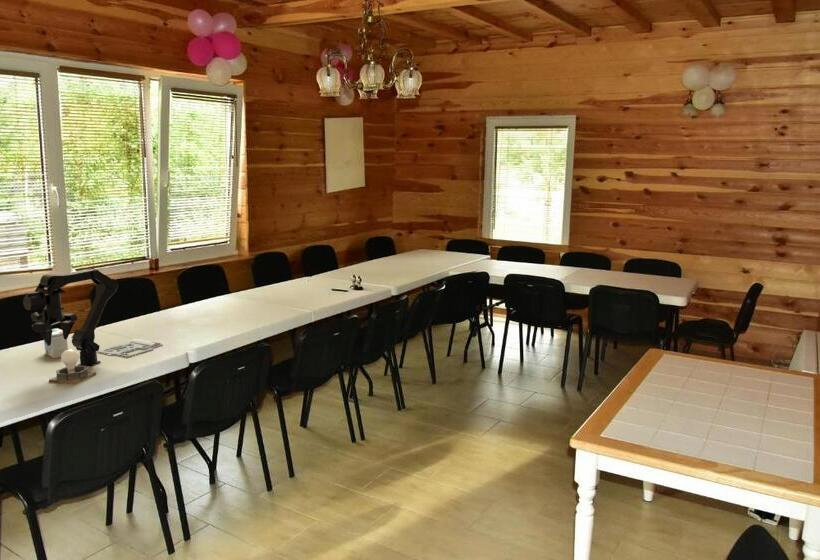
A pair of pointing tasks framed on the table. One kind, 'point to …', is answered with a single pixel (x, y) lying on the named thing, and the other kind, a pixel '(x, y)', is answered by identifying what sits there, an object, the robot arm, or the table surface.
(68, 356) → the lightbulb
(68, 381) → the bulb holder
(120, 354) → the grey openwork panel
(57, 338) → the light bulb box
